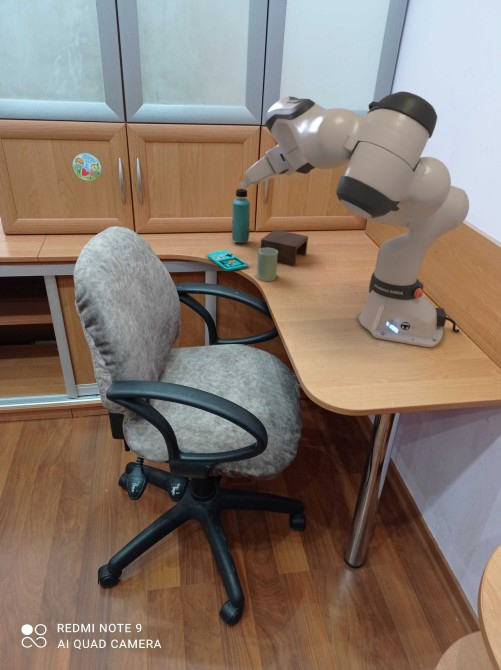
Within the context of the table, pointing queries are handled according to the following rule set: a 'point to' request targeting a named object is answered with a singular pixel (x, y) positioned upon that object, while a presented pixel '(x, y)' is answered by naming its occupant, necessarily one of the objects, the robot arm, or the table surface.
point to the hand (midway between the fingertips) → (248, 183)
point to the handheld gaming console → (227, 260)
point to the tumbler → (267, 264)
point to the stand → (286, 245)
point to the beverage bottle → (241, 217)
